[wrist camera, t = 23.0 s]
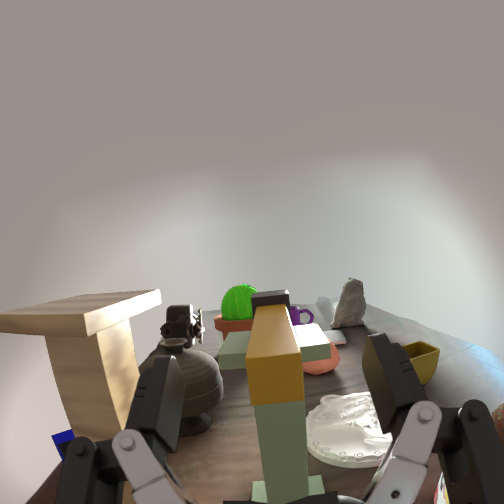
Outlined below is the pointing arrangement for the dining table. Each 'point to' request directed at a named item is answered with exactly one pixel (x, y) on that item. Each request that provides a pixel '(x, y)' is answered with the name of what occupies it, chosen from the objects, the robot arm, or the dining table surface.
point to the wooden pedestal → (89, 357)
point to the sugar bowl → (323, 363)
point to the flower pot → (423, 359)
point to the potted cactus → (236, 311)
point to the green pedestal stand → (281, 424)
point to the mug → (296, 316)
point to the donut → (499, 422)
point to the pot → (193, 384)
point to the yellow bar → (273, 351)
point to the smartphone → (335, 336)
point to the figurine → (350, 305)
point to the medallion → (346, 432)
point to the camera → (183, 324)
